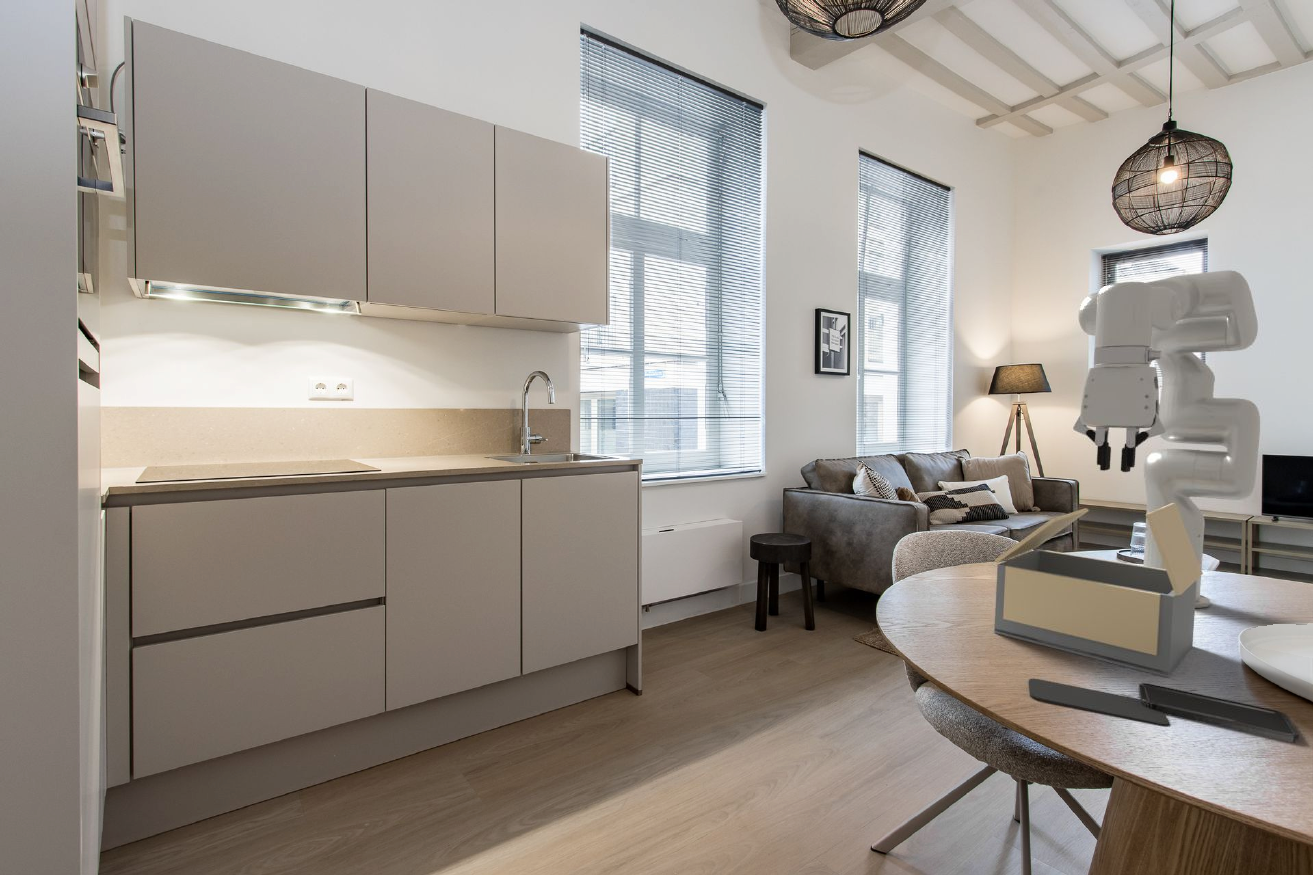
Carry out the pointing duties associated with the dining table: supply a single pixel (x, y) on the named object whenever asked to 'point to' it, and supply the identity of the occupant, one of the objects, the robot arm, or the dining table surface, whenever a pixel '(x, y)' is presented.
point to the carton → (1096, 609)
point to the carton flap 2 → (1174, 547)
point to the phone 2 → (1219, 712)
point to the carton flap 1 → (1042, 534)
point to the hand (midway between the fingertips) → (1115, 469)
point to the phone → (1095, 701)
